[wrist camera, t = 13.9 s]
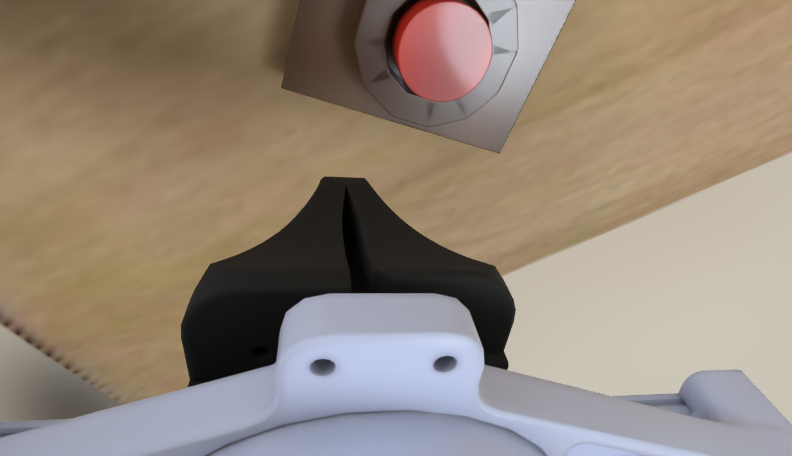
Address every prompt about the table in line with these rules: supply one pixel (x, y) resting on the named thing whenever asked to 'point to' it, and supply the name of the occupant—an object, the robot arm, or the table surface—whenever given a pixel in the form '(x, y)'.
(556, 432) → the robot arm
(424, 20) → the button
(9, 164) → the table surface
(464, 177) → the table surface
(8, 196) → the table surface
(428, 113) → the button block
